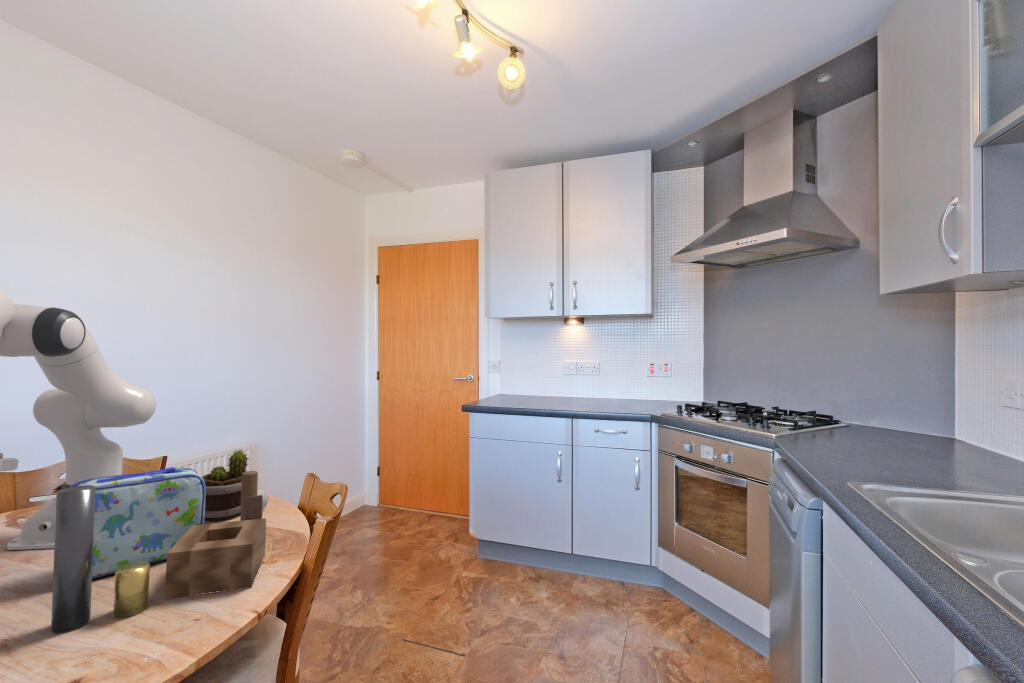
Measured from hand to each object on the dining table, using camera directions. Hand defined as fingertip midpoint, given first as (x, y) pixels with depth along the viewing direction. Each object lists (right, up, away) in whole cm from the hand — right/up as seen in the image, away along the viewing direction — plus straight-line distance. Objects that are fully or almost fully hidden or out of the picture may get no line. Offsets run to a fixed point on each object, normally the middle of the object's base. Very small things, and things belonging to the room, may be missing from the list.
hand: (9, 460), depth 73 cm
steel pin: (+3, -31, +7) cm, 32 cm away
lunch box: (-5, -32, +31) cm, 45 cm away
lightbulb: (+11, -33, +50) cm, 61 cm away
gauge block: (+18, -32, +25) cm, 44 cm away
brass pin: (+10, -31, +12) cm, 35 cm away
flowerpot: (-4, -33, +61) cm, 69 cm away
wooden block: (+16, -32, +39) cm, 53 cm away
